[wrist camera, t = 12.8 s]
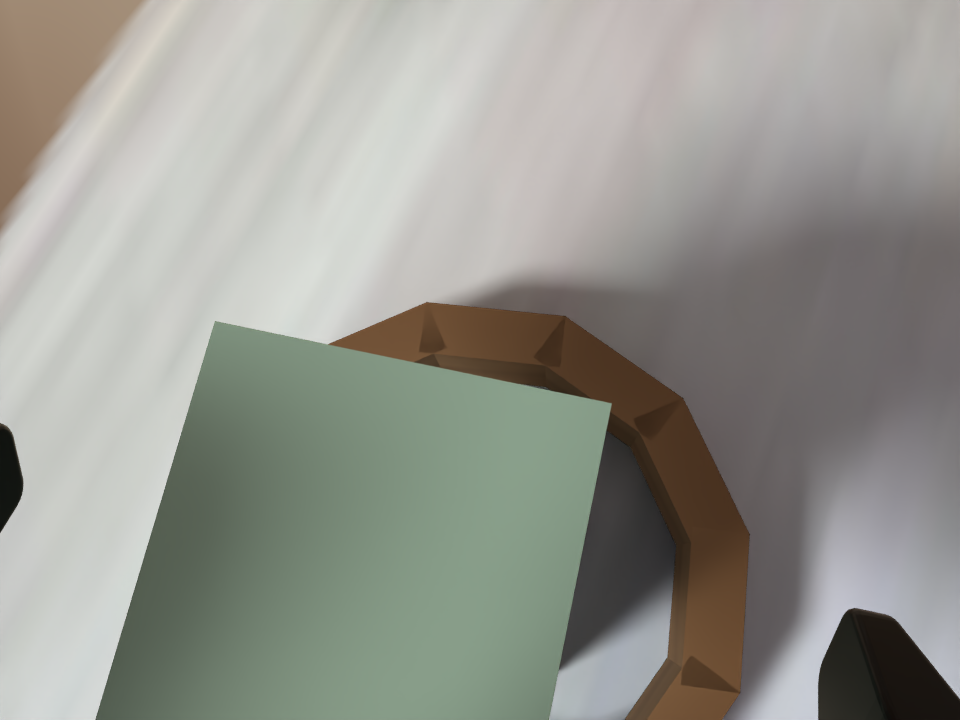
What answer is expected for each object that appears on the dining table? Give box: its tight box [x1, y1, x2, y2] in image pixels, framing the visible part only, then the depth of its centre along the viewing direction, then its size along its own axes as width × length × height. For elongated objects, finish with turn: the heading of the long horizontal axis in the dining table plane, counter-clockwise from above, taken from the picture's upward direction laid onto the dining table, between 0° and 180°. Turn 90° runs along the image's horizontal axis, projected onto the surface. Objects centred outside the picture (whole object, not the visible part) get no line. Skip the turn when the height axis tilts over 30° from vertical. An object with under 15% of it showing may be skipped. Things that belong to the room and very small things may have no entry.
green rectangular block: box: [96, 321, 612, 720], centre depth 13 cm, size 4×4×11 cm
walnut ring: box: [328, 302, 750, 720], centre depth 17 cm, size 10×10×2 cm
